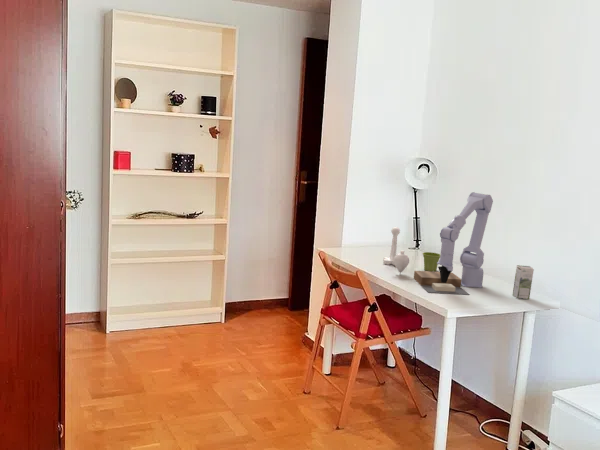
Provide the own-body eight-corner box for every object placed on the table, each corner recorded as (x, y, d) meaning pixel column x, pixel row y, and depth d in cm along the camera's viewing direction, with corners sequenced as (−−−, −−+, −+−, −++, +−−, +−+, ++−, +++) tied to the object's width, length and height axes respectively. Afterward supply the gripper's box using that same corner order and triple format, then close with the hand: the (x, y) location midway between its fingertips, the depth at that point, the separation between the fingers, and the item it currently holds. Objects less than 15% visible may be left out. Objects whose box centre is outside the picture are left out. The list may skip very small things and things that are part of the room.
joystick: (401, 266, 329) (405, 228, 325) (389, 266, 325) (393, 228, 322) (389, 261, 338) (393, 225, 335) (378, 261, 335) (381, 225, 332)
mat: (460, 287, 292) (460, 287, 292) (469, 294, 280) (469, 294, 280) (420, 285, 290) (420, 285, 290) (428, 292, 278) (428, 292, 278)
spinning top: (396, 276, 304) (398, 252, 302) (389, 272, 312) (392, 249, 310) (410, 276, 307) (413, 252, 305) (403, 272, 314) (406, 249, 312)
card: (455, 287, 282) (455, 291, 282) (451, 283, 288) (450, 288, 288) (436, 286, 281) (435, 290, 282) (432, 282, 287) (431, 287, 287)
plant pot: (427, 272, 318) (429, 256, 316) (417, 268, 326) (419, 252, 325) (442, 272, 321) (444, 256, 320) (432, 268, 330) (434, 252, 328)
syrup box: (524, 296, 285) (528, 265, 283) (529, 299, 279) (534, 268, 277) (512, 295, 285) (516, 264, 282) (517, 299, 279) (521, 267, 277)
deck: (451, 280, 304) (452, 272, 304) (460, 287, 292) (461, 279, 291) (413, 278, 303) (414, 270, 302) (420, 285, 290) (421, 277, 289)
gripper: (433, 249, 290) (430, 278, 292) (443, 256, 276) (439, 286, 278) (448, 250, 291) (445, 278, 293) (458, 257, 276) (455, 287, 278)
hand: (443, 282), depth 285 cm, fingers closed
